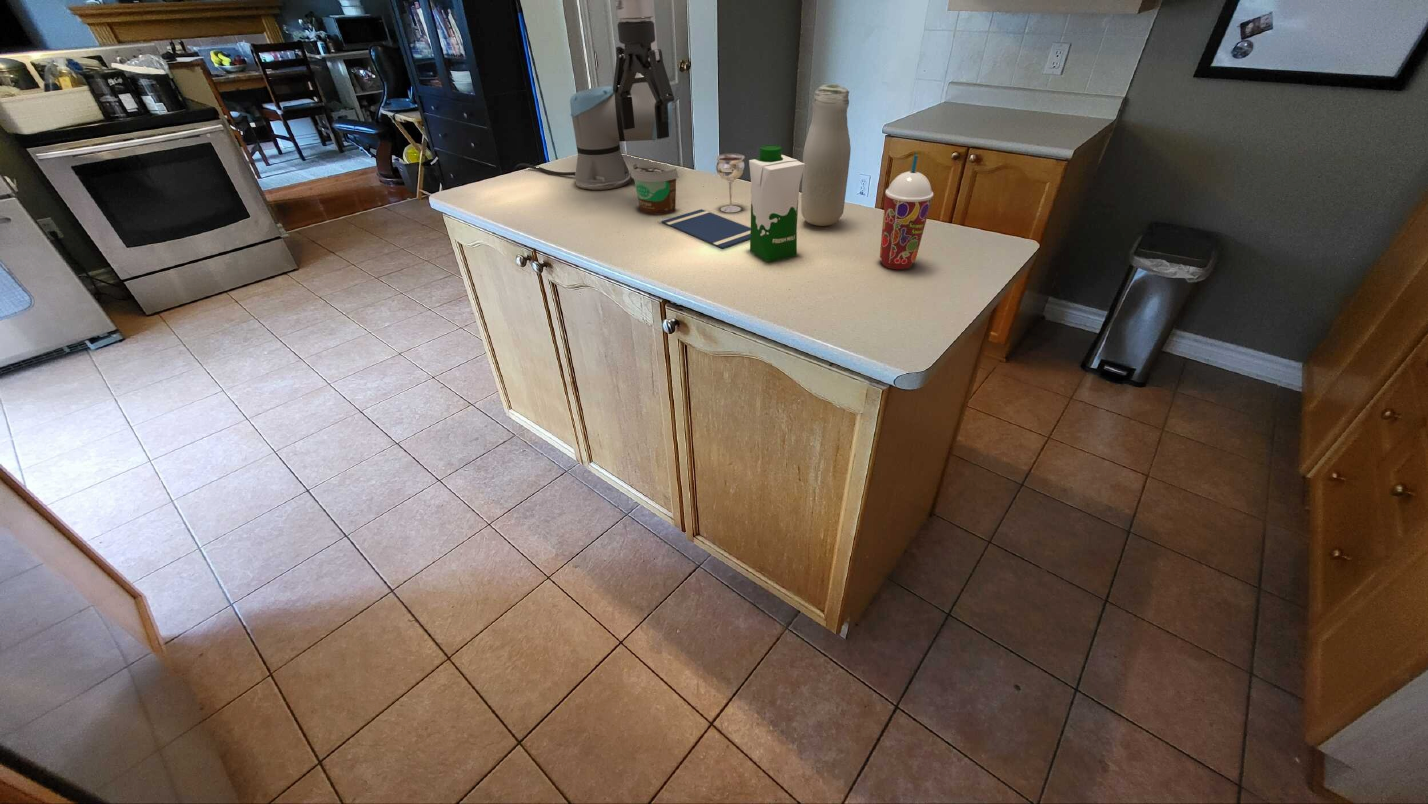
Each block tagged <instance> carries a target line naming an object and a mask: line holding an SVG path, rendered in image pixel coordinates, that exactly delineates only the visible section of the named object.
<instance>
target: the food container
mask: <svg viewBox="0 0 1428 804" xmlns="http://www.w3.org/2000/svg"><path fill="white" fill-rule="evenodd" d="M630 171H631V172H630V178H631V179H633V181H634V185H635V189H636V195H637V201H638V206H639V210H640V212H642V213H644V214H647V215H665V214H669V213H672V212H675V211H676V204H677V203H676V201H677V200H676V199H677V179H679V173H678V170H677V167H675V168H672V169H669V170H664V169H661V168H658V167H638V163H634V164H633V165H632V168H631V170H630Z"/></svg>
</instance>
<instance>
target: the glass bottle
mask: <svg viewBox="0 0 1428 804" xmlns="http://www.w3.org/2000/svg"><path fill="white" fill-rule="evenodd" d="M813 92H814V94H813V99H812V104H811V105H812V115H811V116H812V117H811V123H810V125H809V129H808V132H807V136H806V139H805V143H804V147H803V152H802V163H804V164H805V166H804V170H803V174H802V177H801V181H802V182H801V195H800V196H801V197H800V198H801V202H800V208H801V211H800V212H801V216H802V217H803V219H804V220H805V221H806V222H807V223H808V224H810V225H813V226H814V225H815V226H819V227H827V226H831V225H834V224H836V223H837V222H838V221H839V220H840V218H842V216H843V215H844V210H845V202H846V194H847V186H848V179H849V178H848V177H849V169H850V161H851V151H852V150H851V147H852V146H851V138H850V134H849V131H850V130H849V126H848V108H849V107H850V100H849V96H850V95H849V94H850V91H849V90H848V89H847V88H846V87H844V86H842V85H838V84H823V85H821V86H819V87H818V88H817V89H815V91H813Z"/></svg>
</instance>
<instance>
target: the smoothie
mask: <svg viewBox="0 0 1428 804" xmlns="http://www.w3.org/2000/svg"><path fill="white" fill-rule="evenodd" d="M918 159H919V158H918V155H917V154H914V155H913V160H912V165H911V170H909V171H905V172H902V173H900V174H898V175H897V176H896V177H895V178H894V179H893V180H892V181H891V183H890V184H889V186H888V187H887V188H886V189H885V194H884V207H883V215H882V228H881V239H880V248H879V249H880V250H879V258H880V259H881V264H882V265H883V266H885V267H886V268H888V269H893V270H905V269H908V268H911V267H912V265H913V263H915V261H916V260H917V257H918V252H919V250H920V245H921V242H922V237H923V235H924V230H925V228H926V224H927V220H928V216H929V212H930V209H931V205H932V201H933V197H934V191H932V186H931V183H930V181H929V179H928V178H927V176H925V175H924V174H923V173H922V172H919V171H916V169H917V162H918Z"/></svg>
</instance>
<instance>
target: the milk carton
mask: <svg viewBox="0 0 1428 804" xmlns="http://www.w3.org/2000/svg"><path fill="white" fill-rule="evenodd" d="M782 151H783V149H782V147H781V145H775V144H768V145H762V146H760V147H759V157H757V158H754V159H749V160H748V163H749V165H748V166H749V174H750V228H751V232H750V240H749V252H751V253H752V254H753V255H755V256H757V257H759V258H760V259H761V260H762V261H765V262H766V263H767V264H769V263H773V262H776V261H777V262H778V261H781V260H786V259H788V258H789V259H790V258H793V257H797V256H798V243H797V242H798V231H797V230H798V229H797V228H798V215H799V214H798V213H799V200H800V199H799V198H800V185H801V181H802V178H803V177H802V176H803V170H804V166H805V164H804V163H803V162H801V161H799V160H798V159H795V158H793V157H789V156H787V155H784V154H782Z"/></svg>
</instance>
